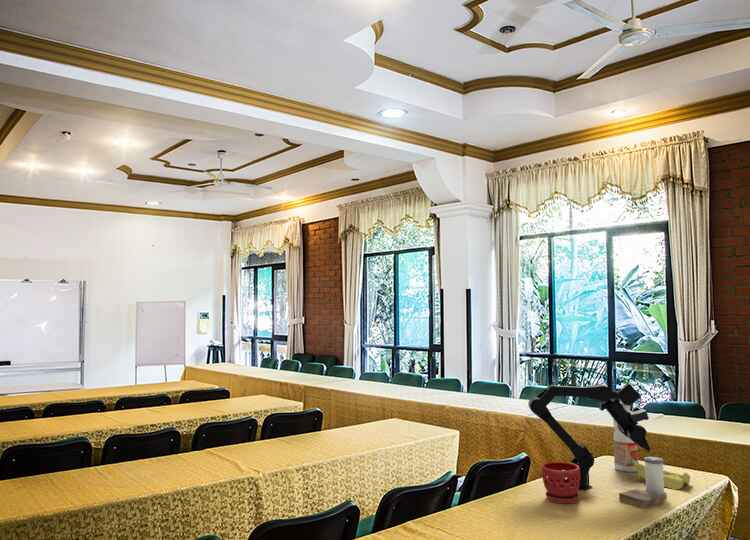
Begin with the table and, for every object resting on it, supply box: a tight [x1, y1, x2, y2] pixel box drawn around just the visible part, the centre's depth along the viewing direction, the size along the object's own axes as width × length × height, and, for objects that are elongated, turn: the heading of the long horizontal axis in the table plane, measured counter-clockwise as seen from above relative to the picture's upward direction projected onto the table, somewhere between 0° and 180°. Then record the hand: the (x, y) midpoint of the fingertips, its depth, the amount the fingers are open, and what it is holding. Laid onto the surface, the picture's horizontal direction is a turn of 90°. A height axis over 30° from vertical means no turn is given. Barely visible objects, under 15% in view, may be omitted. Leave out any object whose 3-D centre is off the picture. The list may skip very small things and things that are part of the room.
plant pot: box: [541, 461, 581, 505], centre depth 209 cm, size 13×13×12 cm
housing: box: [643, 456, 668, 499], centre depth 214 cm, size 8×8×13 cm
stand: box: [618, 488, 664, 509], centre depth 206 cm, size 10×10×2 cm
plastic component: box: [633, 460, 691, 491], centre depth 230 cm, size 20×7×10 cm
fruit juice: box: [612, 401, 639, 473], centre depth 249 cm, size 9×9×28 cm
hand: (645, 447), depth 221 cm, fingers open, 9 cm apart
